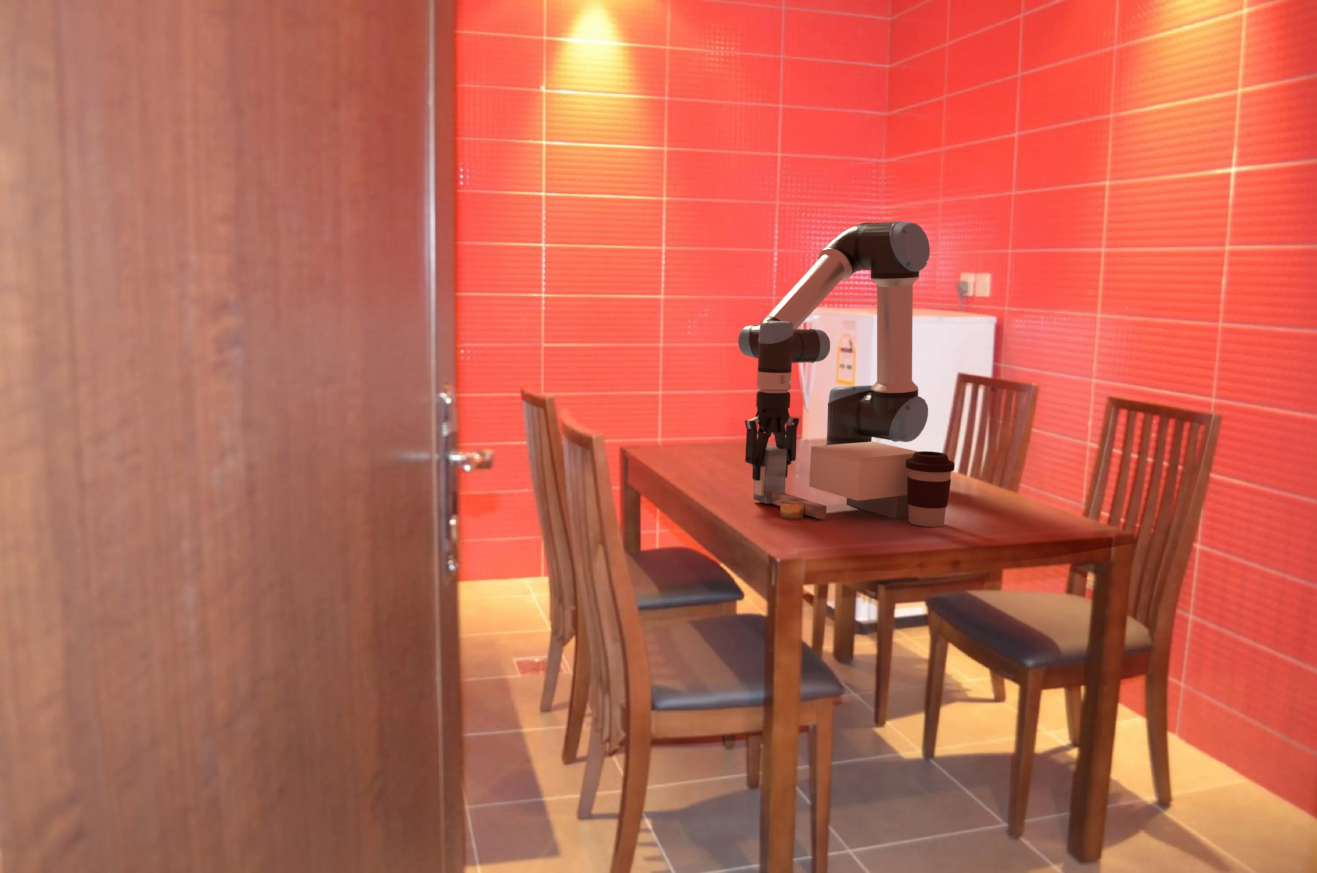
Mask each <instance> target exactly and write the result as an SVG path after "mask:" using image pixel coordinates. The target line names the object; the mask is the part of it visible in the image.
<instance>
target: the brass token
mask: <svg viewBox="0 0 1317 873" xmlns="http://www.w3.org/2000/svg"><path fill="white" fill-rule="evenodd" d="M779 507H780V512H779V516H780V518H782V519H785V520H790V521H792V520H793V521H798V520H803V519H804V518H805V517H804V516H805V514H804V503H802V502H798V501H783V502H781V506H779Z"/></svg>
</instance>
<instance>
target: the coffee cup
mask: <svg viewBox="0 0 1317 873" xmlns="http://www.w3.org/2000/svg"><path fill="white" fill-rule="evenodd" d="M955 465H956V464H955V462H954V461H953V460H950V459H949V456H948V454H946V453H943V452H939V451H928V450H927V451H926V450H925V451H924V450H921V451H919V452H915V453H914V454H913V456H912V458H908V459H906V468H908V476H907V502H908V507H909V517H908V522H909V523H910V525H914V526H916V527H917V526H918V527H923V528H924V527H925V528H938V527H942V526H943V525H944V524H945V518H946V511H947V507H948V505H949V499H950V489H951V484H952V483H951V482H952V478H951V476H952V475H951V474H952V472H953V471H954V470H955Z"/></svg>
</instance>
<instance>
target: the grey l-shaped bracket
mask: <svg viewBox="0 0 1317 873" xmlns="http://www.w3.org/2000/svg"><path fill="white" fill-rule="evenodd" d="M786 457H787V449H784V448H779V447H776V445H770V446H769V445H767V447H766V450H765V455H764V459H763V463H762V466H764V467H765V482H764V495H763V496H761V495H757V494H754V493H753V499H752V500H755V501H756V502H760V503H763V504H769V505H770V504H773V505H775V506H778V507H780V506H781V502H783V501H798V502H802V503H804V515H807V516H810V517H813V518H816V519H820V518H821V519H822V518H827V508H828V507H827V505H825V504H821V503H818V502H815V501H811V500H809V499H805V498H801V497H798V496H795V495H791V494H789V493H786ZM754 483H755V480H753V484H754Z"/></svg>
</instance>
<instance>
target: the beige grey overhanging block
mask: <svg viewBox="0 0 1317 873" xmlns="http://www.w3.org/2000/svg"><path fill="white" fill-rule="evenodd" d="M915 452H919V451H918V450H914V449H909V448H904V447H899V446H895V445H891V444H887V443H880V442H877V441H871V442H862V443H849V444H836V445H826V444H824V445H812V446H810V464H809V483H808V484H809V485H808V486H809V488H810V487H811V488H812V489H813V488H814V489H817V490H820V491H824V492H827V493H829V494H830V493H831V494H833V495H837V496H840V497H844V498H846V506H847V505H848V506H851V507H854V508H858V509H861V510H865V511H868V512H871V513H874V514H877V515H880V516H885V517H887V518H891V519H894V520H898V519H903V518H904V519H905V518H909V507H908V502H907V476H908V468H906V459H908V458H912V456H913V454H914V453H915Z"/></svg>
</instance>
